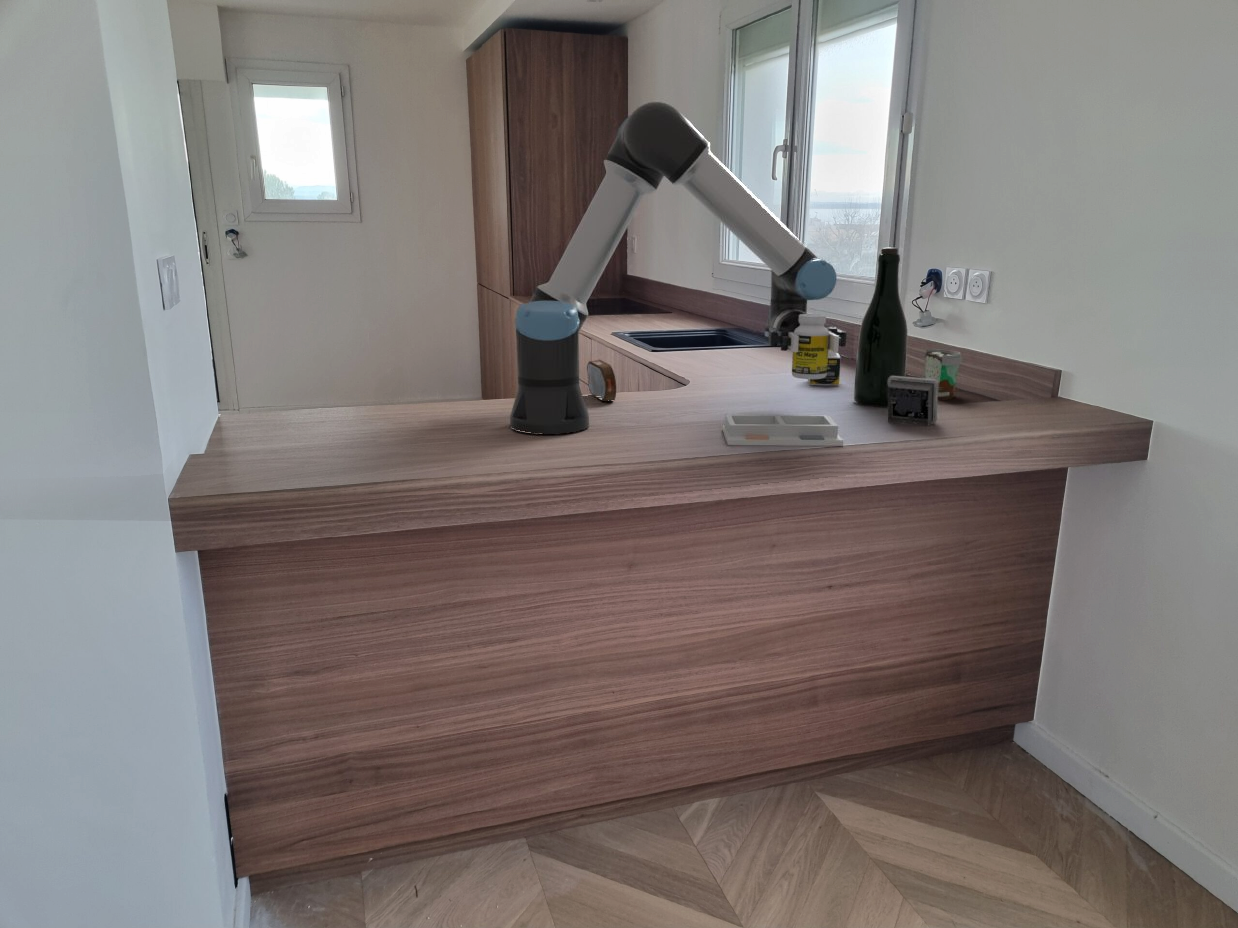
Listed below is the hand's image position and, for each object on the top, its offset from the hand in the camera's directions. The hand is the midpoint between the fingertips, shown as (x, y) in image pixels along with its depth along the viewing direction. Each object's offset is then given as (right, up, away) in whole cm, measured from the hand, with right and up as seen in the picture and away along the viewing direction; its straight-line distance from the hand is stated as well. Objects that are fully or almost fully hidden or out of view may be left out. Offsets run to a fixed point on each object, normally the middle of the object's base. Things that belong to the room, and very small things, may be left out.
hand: (816, 344), depth 146 cm
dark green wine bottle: (+23, -7, +40) cm, 47 cm away
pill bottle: (0, -5, +7) cm, 8 cm away
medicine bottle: (+17, -1, +66) cm, 68 cm away
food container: (+40, -5, +48) cm, 63 cm away
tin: (-38, -6, +47) cm, 60 cm away
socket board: (-5, -16, +8) cm, 18 cm away
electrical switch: (+23, -13, +20) cm, 33 cm away
